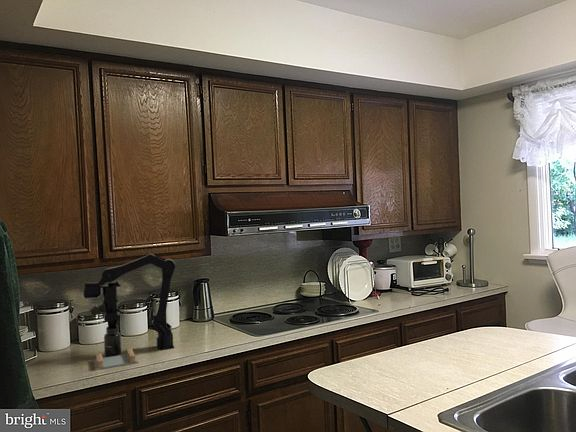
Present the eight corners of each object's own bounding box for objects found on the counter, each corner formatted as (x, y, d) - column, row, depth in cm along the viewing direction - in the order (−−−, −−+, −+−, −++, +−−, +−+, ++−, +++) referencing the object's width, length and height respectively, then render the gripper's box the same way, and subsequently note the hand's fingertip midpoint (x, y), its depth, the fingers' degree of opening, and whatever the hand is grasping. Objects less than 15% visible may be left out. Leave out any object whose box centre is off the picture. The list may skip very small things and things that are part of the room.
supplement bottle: (103, 358, 198) (102, 330, 197) (105, 352, 205) (104, 325, 204) (121, 356, 200) (120, 328, 199) (121, 350, 207) (120, 324, 206)
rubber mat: (133, 354, 202) (133, 353, 202) (138, 363, 190) (138, 361, 190) (93, 360, 195) (93, 359, 195) (95, 370, 183) (95, 368, 183)
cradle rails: (131, 353, 201) (131, 347, 201) (135, 362, 189) (135, 355, 189) (96, 358, 195) (95, 353, 195) (98, 368, 183) (97, 361, 183)
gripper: (89, 295, 210) (90, 330, 211) (91, 302, 193) (92, 340, 194) (115, 293, 215) (116, 327, 215) (119, 300, 198) (120, 336, 198)
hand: (111, 332), depth 205 cm, fingers closed
